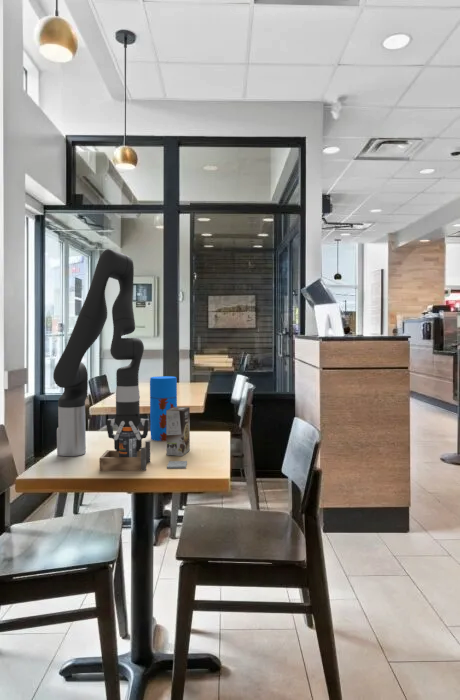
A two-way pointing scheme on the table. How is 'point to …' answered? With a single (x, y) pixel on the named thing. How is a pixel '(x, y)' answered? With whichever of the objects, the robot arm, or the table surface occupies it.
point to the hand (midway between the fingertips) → (128, 450)
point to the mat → (177, 464)
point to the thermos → (161, 404)
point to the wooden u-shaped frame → (125, 460)
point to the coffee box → (178, 431)
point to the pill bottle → (127, 443)
